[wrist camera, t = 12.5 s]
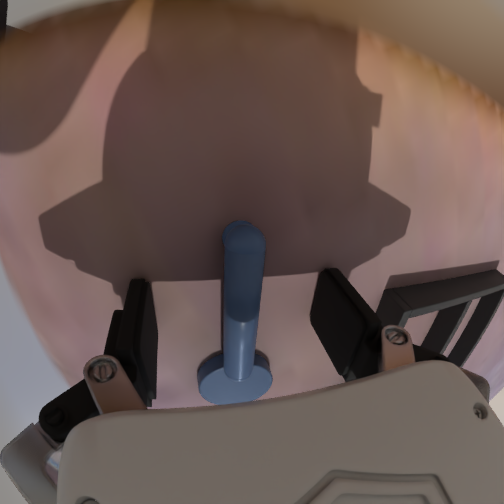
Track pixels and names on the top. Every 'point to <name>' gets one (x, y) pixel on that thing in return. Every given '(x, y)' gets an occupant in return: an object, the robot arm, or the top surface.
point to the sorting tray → (446, 310)
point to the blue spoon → (239, 322)
